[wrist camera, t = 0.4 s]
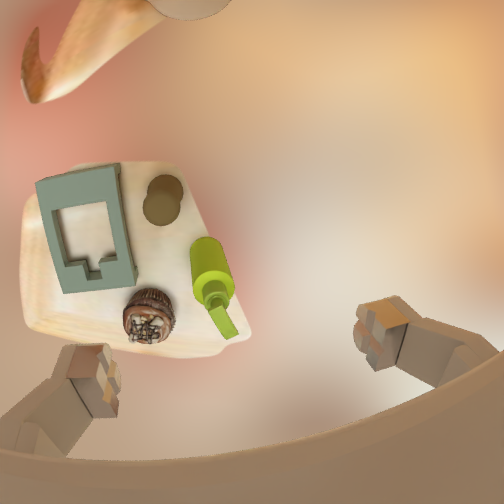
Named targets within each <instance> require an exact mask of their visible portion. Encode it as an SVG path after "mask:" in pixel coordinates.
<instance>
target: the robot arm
mask: <svg viewBox="0 0 504 504" xmlns="http://www.w3.org/2000/svg"><path fill="white" fill-rule="evenodd" d="M146 1H148V2H150V3H151V4H152V5H153V6H154V8H155V9H156V10H158V11H159V12H160V13H162V14H163V15H165V16H168V17H170V18H174V19H178V20H198V19H203V18H206V17H209V16H212V15H214V14H216V13H217V12H219V11H221V10H222V9H223V8H224V7H225V6H227V5H228V3H229V2H230V1H231V0H146ZM356 316H357V317H358V319H359V320H358V321H357V323H356V324H355V325H354V331H353V336H354V342H355V344H356V346H357V348H358V349H359V351H361V352H363V353H365V354H367V355H366V360H367V362H368V363H369V364H370V366H371V367H372V368H373V370H374V371H375V372H376V371H379V370H382V369H386V368H389V367H392V366H395V365H396V367H398V368H399V369H402V370H403V371H405V372H407V373H409V374H410V375H412V376H414V377H416V378H418V379H420V380H421V381H423V382H425V383H427V384H429V385H431V386H433V387H435V389H433V390H431V391H429V392H427V393H425V394H422V395H421V396H418V397H416V398H414V399H411V400H409V401H407V402H404V403H402V404H400V405H397V406H395V407H393V408H390V409H388V410H385V411H383V412H380V413H377V414H375V415H372V416H370V417H366V418H364V419H361V420H358V421H355V422H352V423H349V424H346V425H343V426H340V427H337V428H334V429H330V430H327V431H324V432H320V433H317V434H314V435H310V436H306V437H302V438H298V439H294V440H291V441H286V442H282V443H277V444H273V445H268V446H263V447H258V448H253V449H248V450H242V451H236V452H229V453H223V454H216V455H208V456H200V457H189V458H178V459H164V460H143V461H141V460H140V461H107V460H83V459H71V458H66V456H67V454H68V453H69V452H70V450H71V449H72V447H73V446H74V445H75V443H76V442H77V441H78V439H79V438H80V437H81V435H82V434H83V433H84V431H85V430H86V429H87V427H88V426H89V425H90V423H91V422H92V420H93V418H115V417H116V418H117V415H118V406H119V400H118V398H117V396H116V395H117V394H118V393H119V392H120V389H121V376H120V372H119V369H118V366H117V364H116V363H115V362H114V361H113V360H111V357H112V351H111V349H110V346H109V345H108V344H107V343H92V344H71V345H65V346H63V348H62V350H61V352H60V355H59V358H58V360H57V363H56V365H55V368H54V371H53V373H52V376H51V379H46V380H45V381H43V382H42V383H41V384H40V385H39V386H37V387H36V388H35V389H34V390H33V391H31V392H30V393H29V394H28V395H27V396H26V397H25V398H23V399H22V400H21V401H20V402H19V403H17V404H16V405H15V406H14V407H13V408H11V409H10V410H9V411H8V412H7V413H6V414H5V415H3V416H2V417H1V419H0V504H504V350H503V351H501V352H499V351H497V349H496V348H494V347H493V346H492V345H491V344H490V343H489V342H488V341H487V340H486V339H485V338H483V337H482V336H481V335H479V334H476V333H473V332H470V331H467V330H464V329H461V328H457V327H454V326H451V325H448V324H445V323H442V322H439V321H436V320H433V319H429V318H422V317H421V316H420V315H419V314H418V313H417V312H415V311H414V310H413V309H412V308H411V307H410V306H409V305H408V304H407V303H405V301H403V300H402V299H401V298H400V297H399V296H395V295H394V296H391V297H387V298H384V299H382V300H378V301H373V302H369V303H365V304H360V305H359V306H358V308H357V311H356Z"/></svg>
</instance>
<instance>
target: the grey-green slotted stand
mask: <svg viewBox="0 0 504 504" xmlns="http://www.w3.org/2000/svg"><path fill="white" fill-rule="evenodd" d="M120 172H121V170H120V163H116V164H110V165H104V166H99V167H94V168H88V169H83V170H78V171H73V172H69V173H64V174H60V175H55V176H51V177H46V178H44V179H42V180H40V181H38V182H36V183H35V185H36V191H37V196H38V201H39V206H40V211H41V216H42V220H43V225H44V229H45V233H46V237H47V241H48V245H49V248H50V252H51V256H52V259H53V263H54V266H55V269H56V273H57V276H58V279H59V282H60V285H61V288H62V291H63V294H68V293H78V292H87V291H96V290H105V289H113V288H122V287H131V286H136V281H137V277H138V270H137V266H135V267H134V266H133V261H132V256H131V251H130V246H129V241H128V236H127V230H126V225H125V219H124V213H123V207H122V201H121V194H120V188H119V180H118V174H119V173H120ZM102 201H106V203H107V209H108V214H109V220H110V225H111V230H112V235H113V240H114V245H115V250H116V254H117V256H112V257H105V258H101V259H100V261H99V267H100V271H96V272H89V271H88V267H87V264H86V260H82V261H75V262H68V259H67V256H66V252H65V248H64V244H63V240H62V236H61V232H60V228H59V223H58V219H57V214H56V210H57V209H62V208H68V207H73V206H79V205H84V204H90V203H96V202H102Z"/></svg>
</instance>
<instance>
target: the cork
mask: <svg viewBox="0 0 504 504" xmlns="http://www.w3.org/2000/svg"><path fill="white" fill-rule="evenodd" d="M182 197H183V187H182V185H181V183H180V181H179V180H178V179H177V178H175V177H173V176H171V175H160V176H158V177H156V178H154V179H153V180H152V181H151V182H150V184H149V186H148V190H147V196H146V198H145V200H144V202H143V213H144V215H145V217H146V219H147V220H148V221H149V222H150V223H152V224H154V225H157V226H166V225H168V224H170V223H172V222H173V221H174V220H175V219H176V218H177V217H178V215H179V212H180V201H181V200H182Z"/></svg>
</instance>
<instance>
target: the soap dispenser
mask: <svg viewBox="0 0 504 504" xmlns="http://www.w3.org/2000/svg"><path fill="white" fill-rule="evenodd" d="M190 262H191V274H192V286H193V294H194V296H195V298H196V300H197V301H198V302H200V303H201V304H203V305H204V306H205V308H206V309H207V310H208V313H209V314H210V316H211V318H212V320H213V321H214V323H215V325H216V326H217V328H218V329H219V331H220V332H221V334H222V335H223V337H224V338H225V339H226V340H227V339H229V338H232V337H234V336H236V335H238V334H239V333H238V331H237V329H236V328H235V326H234V324H233V323H232V321H231V319H230V317H229V316H228V314H227V312H226V309H227V307H228V306H229V300H230V299H231V297H232V296H233V294H234V290H235V285H234V282H233V279H232V276H231V272H230V270H229V266H228V264H227V260H226V257H225V254H224V252H223V248H222V246H221V244H220V243H219V242H218V241H217V240H216V239H214V238H211V237H202V238H200V239H198V240H196V241H195V242H194V243H193V244H192V246H191V249H190Z"/></svg>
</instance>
